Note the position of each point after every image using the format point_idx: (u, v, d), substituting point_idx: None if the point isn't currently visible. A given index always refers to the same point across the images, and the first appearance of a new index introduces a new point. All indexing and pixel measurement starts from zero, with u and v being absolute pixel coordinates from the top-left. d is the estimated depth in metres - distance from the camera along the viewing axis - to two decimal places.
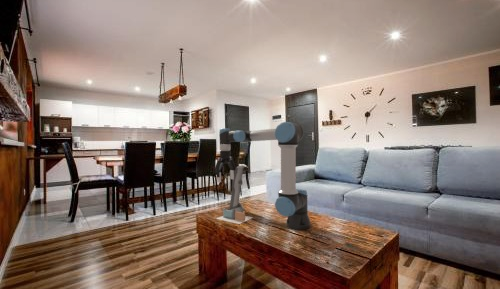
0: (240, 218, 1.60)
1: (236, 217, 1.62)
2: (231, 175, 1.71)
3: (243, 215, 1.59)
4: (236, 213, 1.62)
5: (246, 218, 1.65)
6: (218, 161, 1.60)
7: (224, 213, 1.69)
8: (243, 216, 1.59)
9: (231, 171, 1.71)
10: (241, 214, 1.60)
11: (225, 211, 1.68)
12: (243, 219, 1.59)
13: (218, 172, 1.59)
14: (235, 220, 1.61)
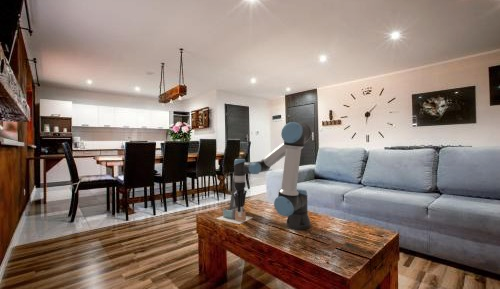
0: (240, 218, 1.61)
1: (236, 217, 1.62)
2: (239, 212, 1.60)
3: (244, 215, 1.59)
4: (236, 213, 1.62)
5: (246, 218, 1.65)
6: (235, 197, 1.56)
7: (224, 213, 1.69)
8: (244, 216, 1.59)
9: None
10: (242, 214, 1.60)
11: (225, 211, 1.68)
12: (244, 219, 1.59)
13: (239, 207, 1.58)
14: (235, 220, 1.61)
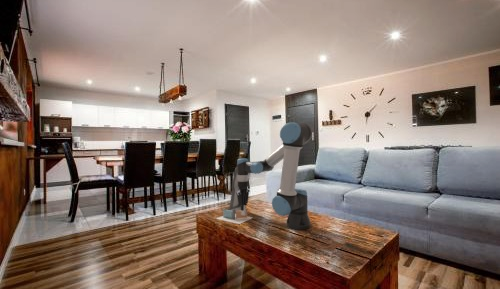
0: (242, 216, 1.65)
1: (237, 216, 1.64)
2: None
3: (246, 213, 1.65)
4: (237, 212, 1.64)
5: (246, 218, 1.65)
6: (238, 195, 1.59)
7: (224, 213, 1.69)
8: (246, 213, 1.65)
9: None
10: None
11: (225, 211, 1.68)
12: (246, 216, 1.65)
13: (242, 205, 1.61)
14: (235, 220, 1.61)
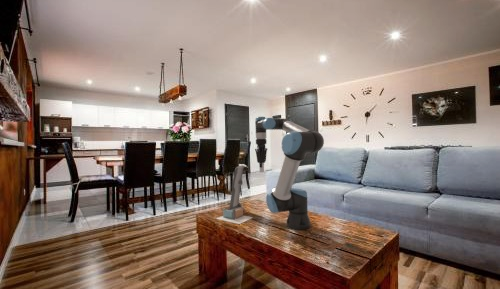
0: (239, 215, 1.69)
1: (236, 215, 1.66)
2: None
3: (242, 210, 1.71)
4: (236, 211, 1.66)
5: (246, 218, 1.65)
6: (257, 152, 1.62)
7: (224, 213, 1.69)
8: (242, 211, 1.71)
9: None
10: (240, 210, 1.70)
11: (225, 211, 1.68)
12: (242, 214, 1.71)
13: (261, 162, 1.65)
14: (235, 220, 1.61)
